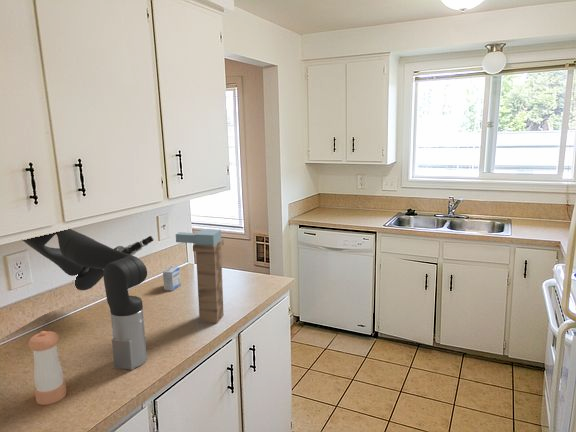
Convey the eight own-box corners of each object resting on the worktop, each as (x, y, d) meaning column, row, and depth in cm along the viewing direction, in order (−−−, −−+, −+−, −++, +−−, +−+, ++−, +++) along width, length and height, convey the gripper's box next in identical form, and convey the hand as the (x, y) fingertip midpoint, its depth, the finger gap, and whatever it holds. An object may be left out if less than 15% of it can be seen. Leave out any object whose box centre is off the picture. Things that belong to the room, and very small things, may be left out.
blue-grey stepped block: (213, 246, 151) (213, 235, 150) (173, 244, 153) (172, 233, 153) (221, 240, 158) (220, 229, 157) (182, 238, 161) (181, 228, 160)
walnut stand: (217, 325, 156) (214, 247, 150) (196, 323, 157) (192, 245, 151) (226, 313, 165) (223, 239, 159) (206, 312, 167) (203, 238, 161)
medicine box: (173, 291, 188) (172, 272, 187) (163, 290, 189) (162, 271, 187) (181, 284, 196) (179, 266, 194) (172, 284, 197) (170, 266, 195)
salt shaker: (29, 401, 113) (19, 335, 109) (53, 386, 120) (44, 323, 116) (49, 407, 111) (40, 340, 107) (72, 391, 117) (64, 327, 113)
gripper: (98, 256, 157) (131, 237, 153) (120, 246, 171) (150, 228, 167) (109, 273, 158) (142, 255, 154) (129, 261, 172) (160, 244, 167)
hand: (146, 241), depth 160 cm, fingers open, 8 cm apart
